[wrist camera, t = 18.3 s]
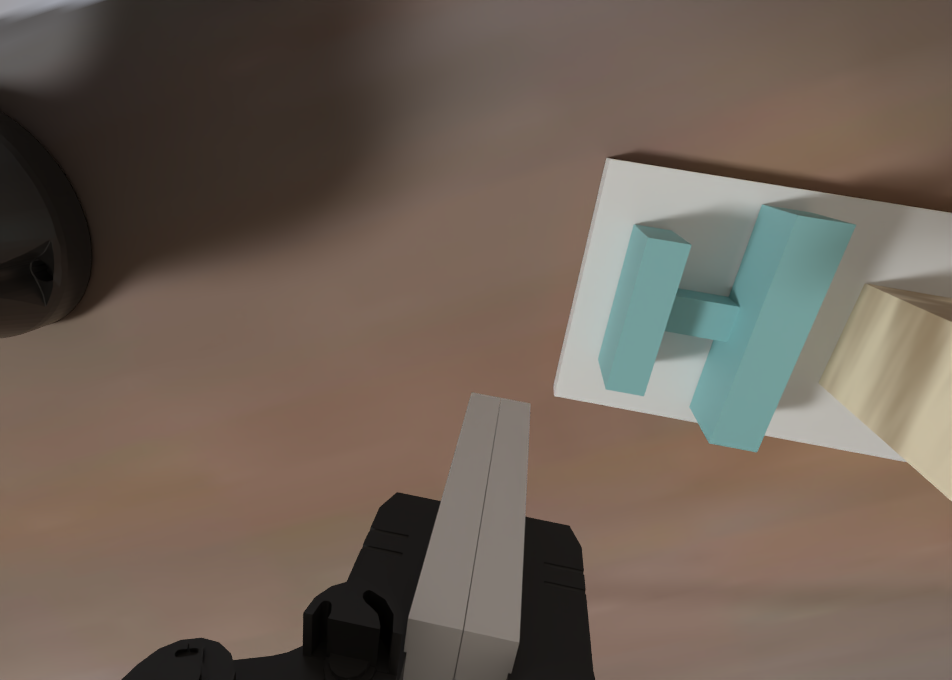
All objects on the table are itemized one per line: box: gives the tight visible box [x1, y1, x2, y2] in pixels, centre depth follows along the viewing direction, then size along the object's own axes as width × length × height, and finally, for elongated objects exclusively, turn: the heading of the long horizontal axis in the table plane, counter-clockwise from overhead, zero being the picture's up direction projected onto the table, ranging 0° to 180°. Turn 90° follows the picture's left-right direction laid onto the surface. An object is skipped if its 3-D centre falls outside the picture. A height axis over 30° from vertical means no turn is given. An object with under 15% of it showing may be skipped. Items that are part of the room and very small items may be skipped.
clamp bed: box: [554, 158, 952, 462], centre depth 27 cm, size 25×14×6 cm, turn 82°
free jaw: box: [598, 205, 856, 452], centre depth 26 cm, size 8×12×4 cm
